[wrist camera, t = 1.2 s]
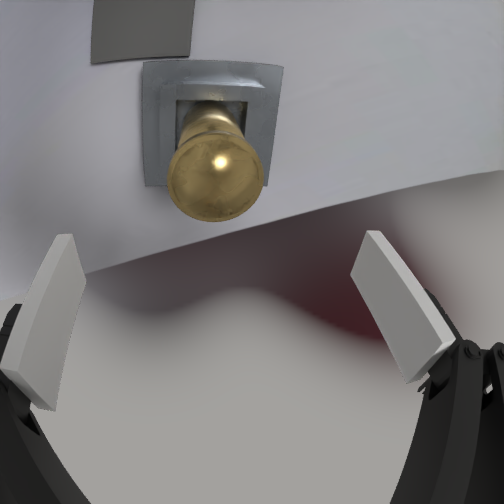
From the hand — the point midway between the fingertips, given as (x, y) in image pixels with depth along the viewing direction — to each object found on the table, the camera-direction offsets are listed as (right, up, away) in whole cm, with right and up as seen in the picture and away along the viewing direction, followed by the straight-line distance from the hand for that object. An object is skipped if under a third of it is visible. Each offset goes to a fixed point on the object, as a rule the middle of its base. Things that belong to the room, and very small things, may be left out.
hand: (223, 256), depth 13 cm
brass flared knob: (-3, +13, +16) cm, 21 cm away
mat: (-10, +25, +9) cm, 29 cm away
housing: (-4, +15, +18) cm, 24 cm away
